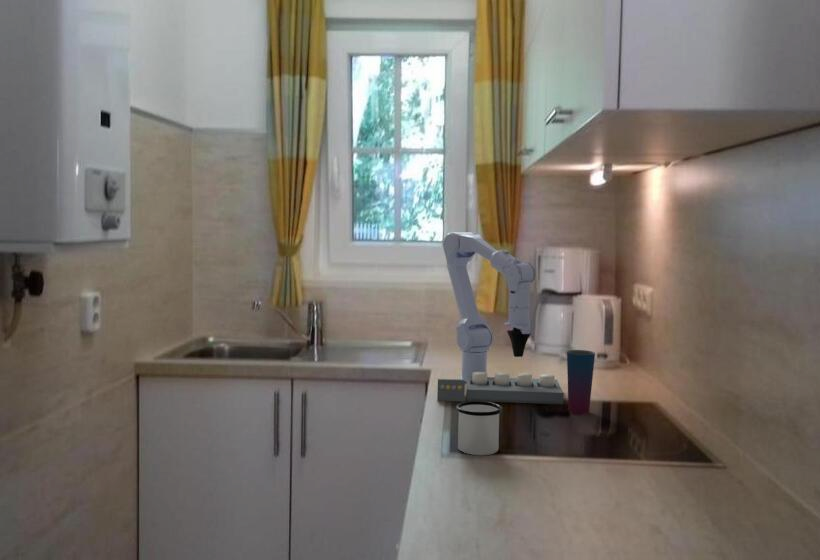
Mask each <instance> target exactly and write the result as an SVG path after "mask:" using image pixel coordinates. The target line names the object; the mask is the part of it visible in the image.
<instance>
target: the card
mask: <svg viewBox="0 0 820 560" xmlns="http://www.w3.org/2000/svg"><path fill="white" fill-rule="evenodd" d="M465 384H466V382H465V379H459V378H437V394H436V395H437V398H436V399H437V400H436V401H438V400H443V401H444V402H445V401H446V402H465V393H466V390H465V388H466V387H465V386H466V385H465ZM443 401H442V402H443Z"/></svg>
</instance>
